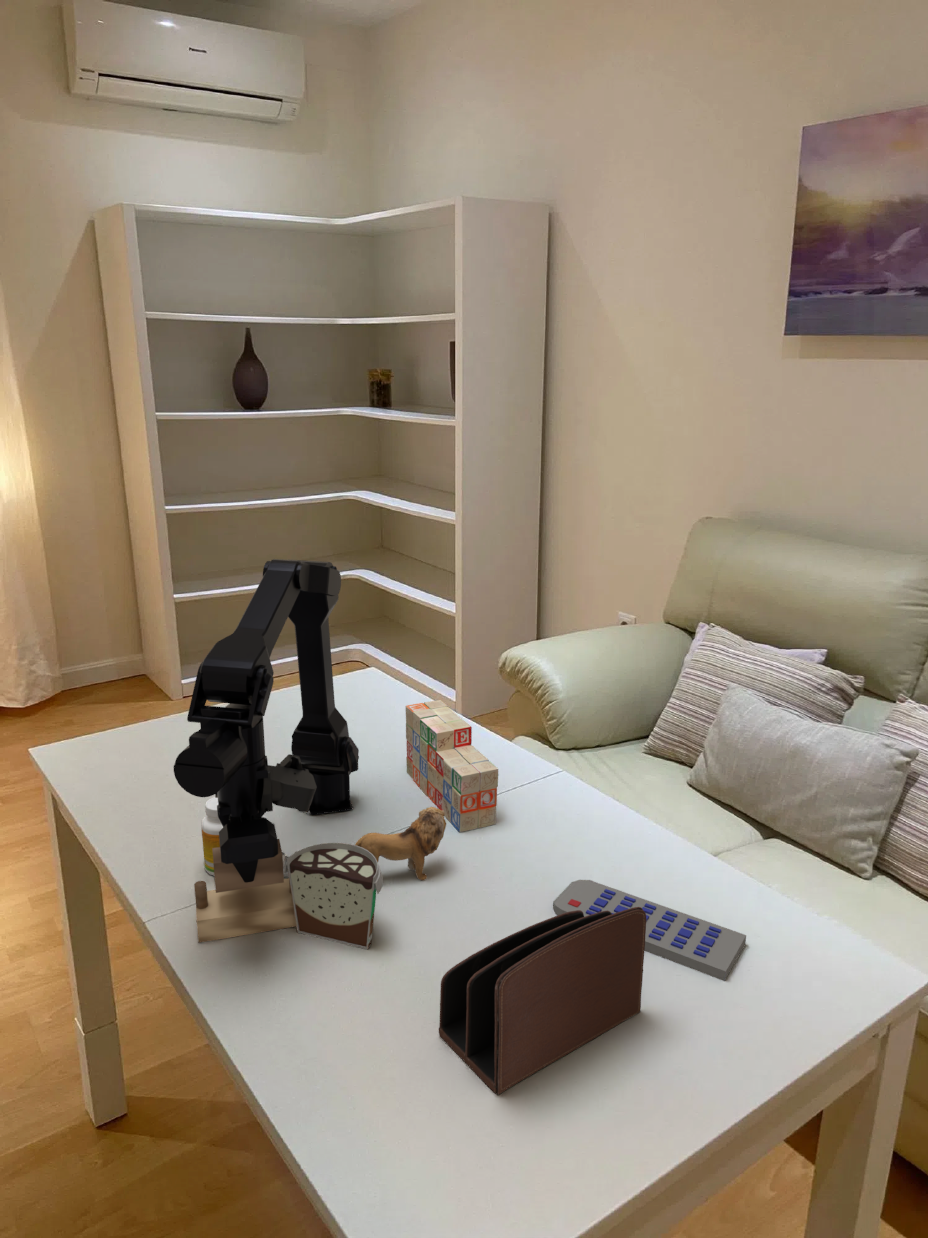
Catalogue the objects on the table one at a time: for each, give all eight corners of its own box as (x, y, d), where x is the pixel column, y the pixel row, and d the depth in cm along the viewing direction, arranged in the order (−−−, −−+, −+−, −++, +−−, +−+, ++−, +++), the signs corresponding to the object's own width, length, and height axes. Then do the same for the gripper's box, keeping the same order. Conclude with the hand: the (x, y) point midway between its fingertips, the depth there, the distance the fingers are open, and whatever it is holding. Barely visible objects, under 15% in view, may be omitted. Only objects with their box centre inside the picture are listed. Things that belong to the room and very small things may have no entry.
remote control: (723, 986, 104) (725, 970, 103) (547, 916, 115) (548, 901, 115) (744, 948, 110) (747, 933, 109) (575, 886, 122) (576, 872, 121)
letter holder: (641, 1014, 99) (651, 900, 94) (496, 1099, 87) (500, 975, 83) (578, 964, 106) (584, 857, 102) (437, 1036, 95) (438, 920, 91)
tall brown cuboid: (214, 877, 112) (212, 848, 111) (280, 867, 114) (279, 838, 113) (215, 893, 109) (213, 863, 108) (283, 882, 111) (282, 853, 110)
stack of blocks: (497, 825, 136) (499, 749, 132) (459, 834, 133) (460, 757, 130) (440, 766, 154) (440, 698, 151) (405, 772, 152) (405, 703, 148)
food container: (400, 922, 113) (399, 851, 110) (379, 952, 107) (378, 878, 104) (310, 902, 117) (307, 832, 114) (286, 930, 111) (282, 858, 108)
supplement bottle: (235, 880, 121) (230, 814, 118) (197, 875, 122) (192, 810, 119) (252, 858, 126) (248, 795, 123) (215, 853, 127) (211, 791, 124)
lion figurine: (437, 855, 128) (438, 797, 125) (452, 875, 123) (453, 815, 120) (335, 877, 122) (333, 817, 119) (346, 899, 117) (345, 837, 115)
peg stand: (298, 897, 118) (297, 856, 116) (305, 925, 112) (303, 882, 110) (197, 913, 114) (193, 871, 112) (198, 943, 109) (194, 899, 107)
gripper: (321, 783, 100) (325, 906, 105) (299, 717, 117) (304, 825, 122) (216, 797, 97) (225, 922, 102) (209, 727, 114) (218, 837, 119)
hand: (247, 872), depth 111 cm, fingers closed on tall brown cuboid, 3 cm apart
